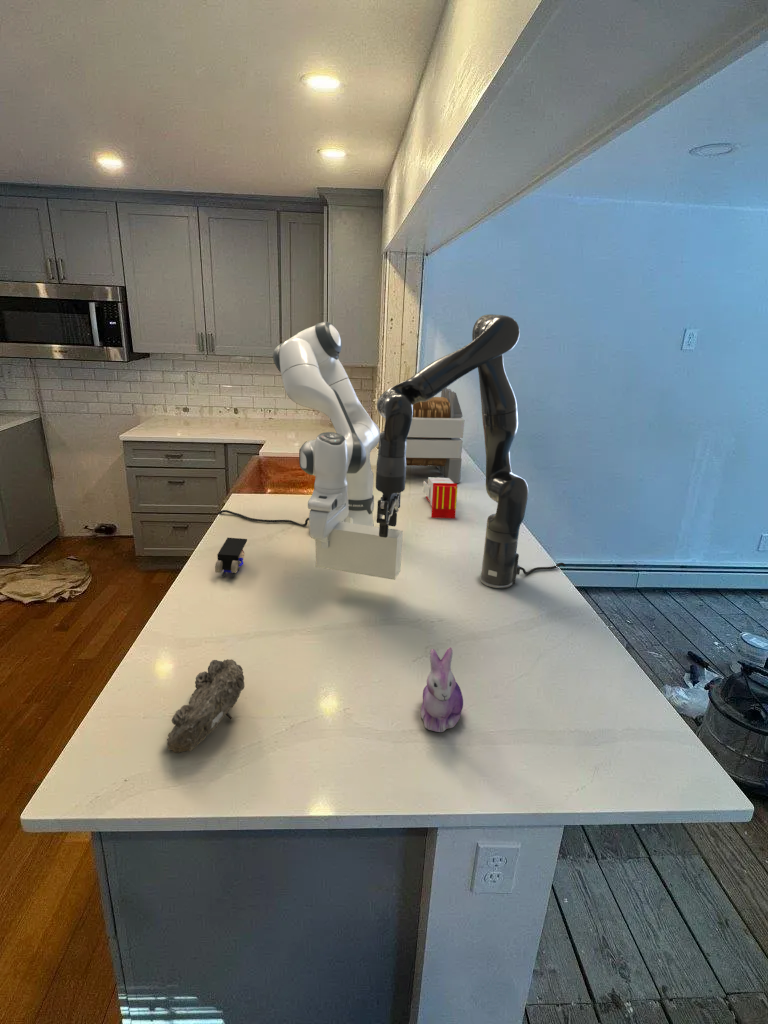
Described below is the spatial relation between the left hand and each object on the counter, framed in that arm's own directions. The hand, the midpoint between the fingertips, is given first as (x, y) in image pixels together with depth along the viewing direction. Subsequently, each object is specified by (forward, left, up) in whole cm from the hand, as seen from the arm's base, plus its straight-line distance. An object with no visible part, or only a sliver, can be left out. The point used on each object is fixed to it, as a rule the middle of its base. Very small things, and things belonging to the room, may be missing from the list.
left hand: (330, 542), depth 155 cm
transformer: (-2, +126, -14) cm, 127 cm away
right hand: (+16, 0, +6) cm, 17 cm away
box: (+8, 0, -6) cm, 10 cm away
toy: (+16, +81, -14) cm, 83 cm away
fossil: (-2, -57, -14) cm, 59 cm away
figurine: (+40, -43, -14) cm, 61 cm away
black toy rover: (-31, 0, -14) cm, 34 cm away
